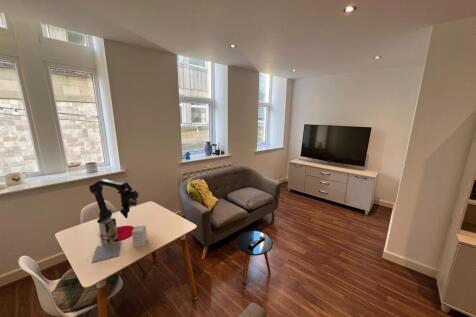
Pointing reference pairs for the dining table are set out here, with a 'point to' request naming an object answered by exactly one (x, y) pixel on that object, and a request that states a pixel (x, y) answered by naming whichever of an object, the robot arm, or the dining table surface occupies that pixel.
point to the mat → (106, 251)
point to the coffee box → (108, 230)
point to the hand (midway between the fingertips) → (127, 215)
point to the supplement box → (139, 235)
